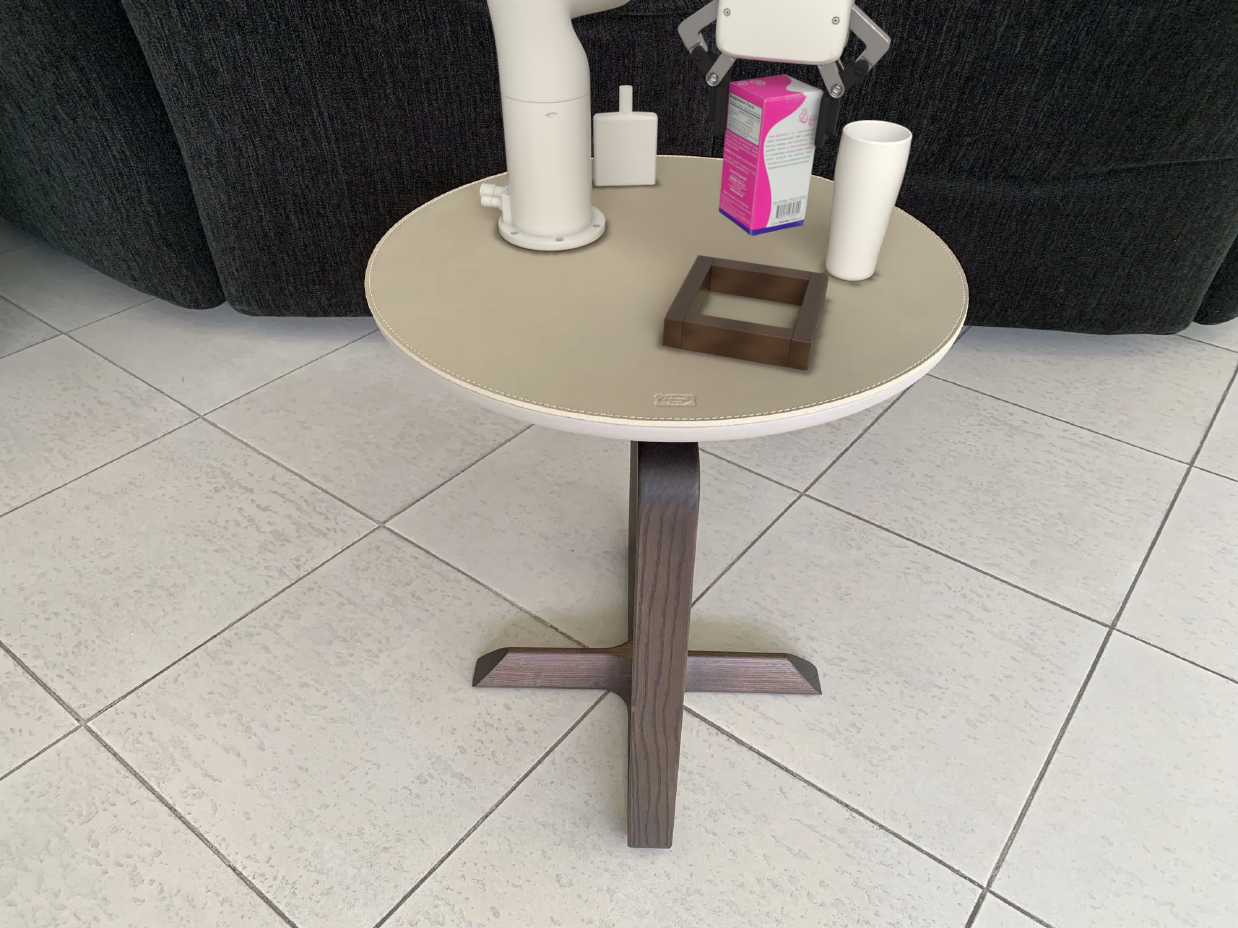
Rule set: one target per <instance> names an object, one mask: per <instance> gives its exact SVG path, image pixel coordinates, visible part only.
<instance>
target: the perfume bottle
mask: <svg viewBox="0 0 1238 928" xmlns="http://www.w3.org/2000/svg"><path fill="white" fill-rule="evenodd" d="M618 91H619V93H618V94H619V95H618V96H619V97H618V99H619V100H618V101H619V102H618V103H619V105H618V107H619V108H618V111H613V112H612V111H611V112H600V113H597V112H596V113H595V114H594V116H593V119H592V120H593V121H592V122H593V182H594V185H595V187H631V186H632V187H633V186H654V185H655V184H656V181H657V180H656V178H657V154H658V153H657V152H658V122H659V118H658V115H657V113H656V112H652V111H651V112H650V111H633V85H628V84H627V85H625V84H623V85H620V86H619V89H618Z"/></svg>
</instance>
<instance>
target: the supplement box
mask: <svg viewBox="0 0 1238 928" xmlns="http://www.w3.org/2000/svg"><path fill="white" fill-rule="evenodd" d="M823 93H824V90H823V89H820V88H818V87H815V86H814V85H813V86H812V85H810V84H809V83H808V84H807V83H805V82H803V81H801V80H798V79H796V78H794V77H792V76H789V75H787V74H777V75H773V76H772V75H771V76H764V77H758V78H757V77H756V78H749V79H743V80H742V79H741V80H736V81H732V82H730V84H729V94H728V106H727V118H726V130H725V132H724V143H723V155H722V156H723V157H722V165H721V167H722V168H721V177H720V178H721V180H720V190H719V191H720V192H719V201H718V202H719V203H718V212H719V213H720V214H721V215H722V216H724V217H725V218H726V219H728V220H729V221H730V222H732V223H733V224H735V225H736V226H737V227H739V228H740V229H741V230H743V231H744V232H745V233H746V234H747V235H749V236H750V237H753V236H754V237H755V236H758V235H763V234H767V233H772V232H777V231H782V230H787V229H791V228H796V227H802V226H804V225H805V217H806V212H807V204H808V198H809V191H810V185H811V177H812V173H813V172H812V170H813V164H814V157H815V151H816V146H814V141H815V135H816V128H817V122H818V115H819V108H820V102H821V98H822V95H823Z"/></svg>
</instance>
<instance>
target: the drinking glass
mask: <svg viewBox="0 0 1238 928" xmlns="http://www.w3.org/2000/svg"><path fill="white" fill-rule="evenodd" d="M912 140H913V133H912V132H911V130H910V129H909V128H907V127H906V126H903V125H900V124H898V123H894V122H890V121H885V120H873V119H872V120H869V119H868V120H867V119H866V120H865V119H864V120H857V121H852V122H849V123H847V124H845V125H844V126H843V128H842V132H841V136H840V140H839V145H838V150H837V155H836V159H835V167H834V177H833V187H832V197H831V210H830V220H829V221H830V222H829V229H828V230H829V232H828V241H827V249H826V250H827V251H826V254H825V256H826V257H825V261H824V262H825V263H824V266H825V270H826V271H827V273H828V274H829V275H831V276H832V277H835V278H837V279H838V280H843V281H847V282H861V281H865V280H868V279H869V278H871V277H872V276H873V275H874V273H876V268H877V265H878V261H879V256H880V253H881V249H882V246H883V242H884V239H885V238H886V233H887V230H888V227H889V224H890V221H891V218H892V215H893V211H894V209H895V207H896V203H897V199H898V196H899V194H900V190H901V186H902V184H903V180H904V177H905V173H906V169H907V165H908V161H909V156H910V152H911V145H912Z"/></svg>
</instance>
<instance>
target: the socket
mask: <svg viewBox="0 0 1238 928" xmlns="http://www.w3.org/2000/svg"><path fill="white" fill-rule="evenodd" d="M829 280H830V273H824V272H816V271H809V270H803V269H797V268H790V267H783V266H775V265H771V264H763V263H762V264H761V263H755V262H749V261H741V260H734V259H729V258H721V257H715V256H707V255H701V254H698V255H697V257H696V258H695V260H694V262H693V264H692V266H691V268H690V269H689V271H688V273H687V275H686V277H685V279H684V281H683V282H682V285H681V286H680V288H679V290H678V292H677V294H676V296H675V297H674V299H673V301H672V303H671V305H670V306H669V308H668V310H667V312H666V314H665V316H664V318H663V334H662V335H663V336H662V337H663V338H662V346H663V347H669V348H675V349H680V350H687V351H693V352H698V353H703V354H710V355H715V356H722V357H727V358H732V359H739V360H744V361H750V362H755V363H762V364H768V365H774V366H778V367H785V368H791V369H797V370H804V371H807V370H808V368H809V367H808V366H809V363H810V359H811V355H812V351H813V347H814V344H815V339H816V336H817V331H818V328H819V325H820V320H821V317H822V312H823V309H824V305H825V300H826V296H827V290H828V285H829ZM709 292H713V293H720V294H728V295H735V296H741V297H745V298H746V297H747V298H752V299H757V300H758V299H760V300H766V301H772V302H777V303H778V302H779V303H785V304H792V305H797V306H800V309H799V313H798V317H797V319H796V323H795V326H794V328H789V327H783V326H776V325H769V324H764V323H757V322H753V321H752V322H751V321H747V320H746V321H745V320H739V319H734V318H727V317H720V316H714V315H709V314H703V313H700V311H701V308H702V307H703V304H704V302H705V300H706V298H707V296H708V294H709Z"/></svg>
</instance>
